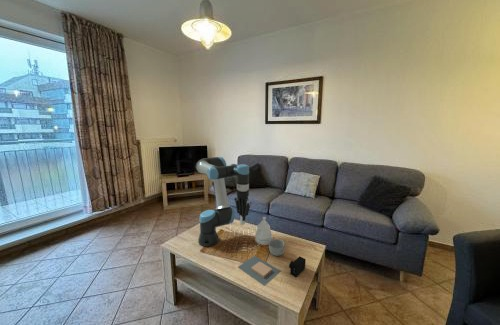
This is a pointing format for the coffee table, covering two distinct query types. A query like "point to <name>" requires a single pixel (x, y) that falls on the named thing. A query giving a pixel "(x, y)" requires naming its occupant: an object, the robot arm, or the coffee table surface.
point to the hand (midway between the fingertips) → (242, 224)
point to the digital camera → (297, 266)
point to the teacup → (276, 247)
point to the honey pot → (263, 233)
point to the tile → (261, 269)
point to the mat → (247, 269)
